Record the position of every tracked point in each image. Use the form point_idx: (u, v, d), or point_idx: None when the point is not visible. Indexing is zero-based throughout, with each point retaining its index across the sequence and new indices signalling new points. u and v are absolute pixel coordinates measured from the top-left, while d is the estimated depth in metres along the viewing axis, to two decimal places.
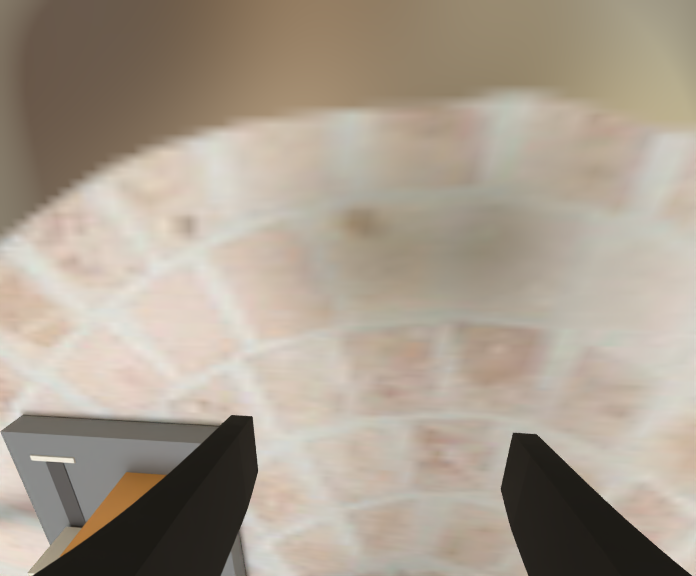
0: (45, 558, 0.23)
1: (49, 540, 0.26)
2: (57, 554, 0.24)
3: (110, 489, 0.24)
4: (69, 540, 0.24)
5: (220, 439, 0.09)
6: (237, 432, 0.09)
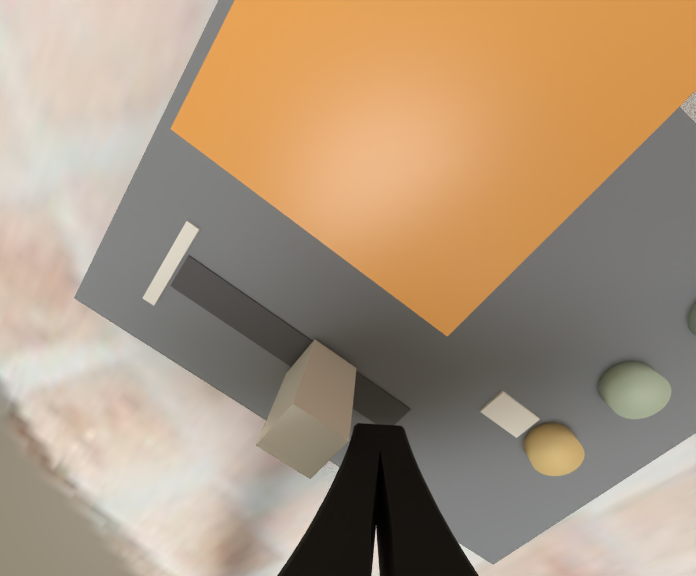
0: (275, 411, 0.09)
1: (335, 461, 0.13)
2: (289, 389, 0.09)
3: None
4: (298, 368, 0.10)
5: (365, 449, 0.08)
6: (377, 441, 0.09)
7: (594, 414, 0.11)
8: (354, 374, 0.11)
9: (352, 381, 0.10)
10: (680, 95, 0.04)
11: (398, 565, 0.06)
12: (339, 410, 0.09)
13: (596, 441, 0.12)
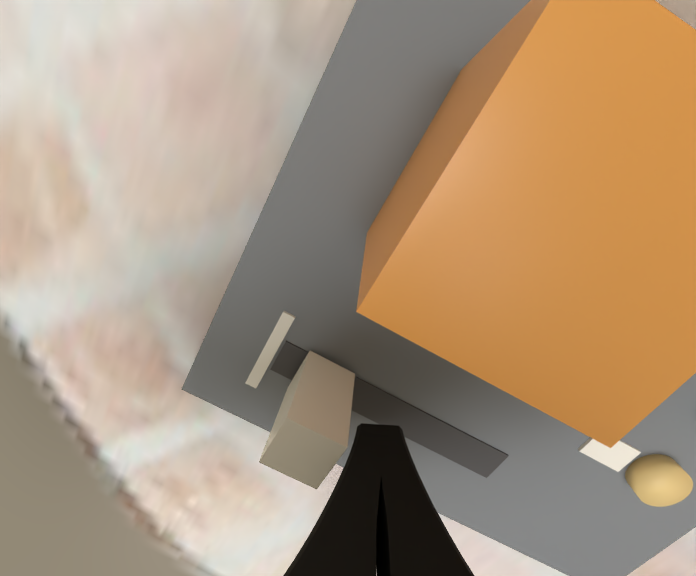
0: (275, 426, 0.09)
1: (436, 509, 0.13)
2: (286, 403, 0.10)
3: None
4: (295, 381, 0.10)
5: (369, 449, 0.08)
6: (381, 442, 0.09)
7: None
8: (352, 380, 0.11)
9: (350, 387, 0.10)
10: None
11: (394, 565, 0.06)
12: (336, 418, 0.09)
13: None
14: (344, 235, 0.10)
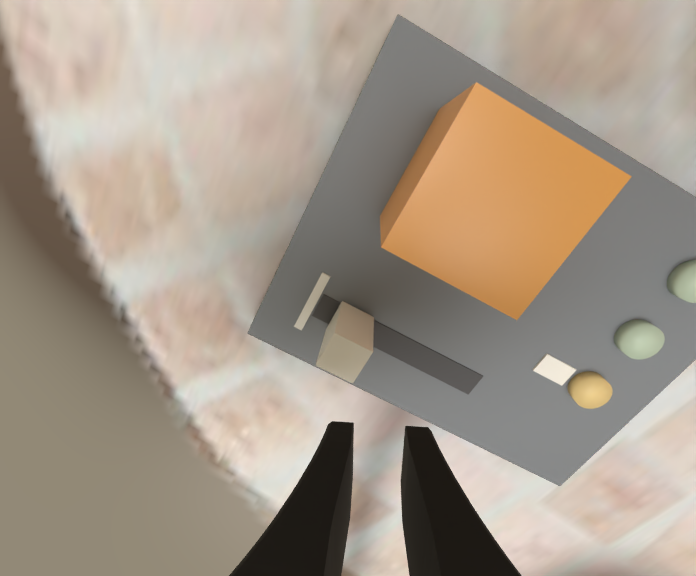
0: (323, 346, 0.14)
1: (433, 422, 0.18)
2: (330, 330, 0.14)
3: (396, 264, 0.15)
4: (334, 320, 0.15)
5: (335, 447, 0.08)
6: (348, 439, 0.09)
7: (615, 360, 0.16)
8: (372, 320, 0.16)
9: (371, 323, 0.15)
10: (605, 204, 0.09)
11: (443, 569, 0.06)
12: (364, 337, 0.14)
13: (620, 380, 0.16)
14: (364, 218, 0.15)
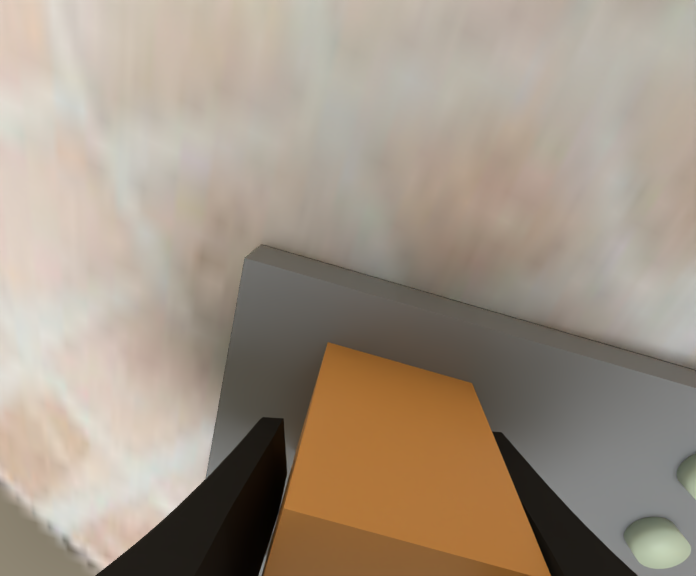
0: None
1: None
2: None
3: None
4: None
5: (256, 441, 0.09)
6: (271, 434, 0.09)
7: (633, 559, 0.12)
8: None
9: None
10: None
11: None
12: None
13: None
14: None
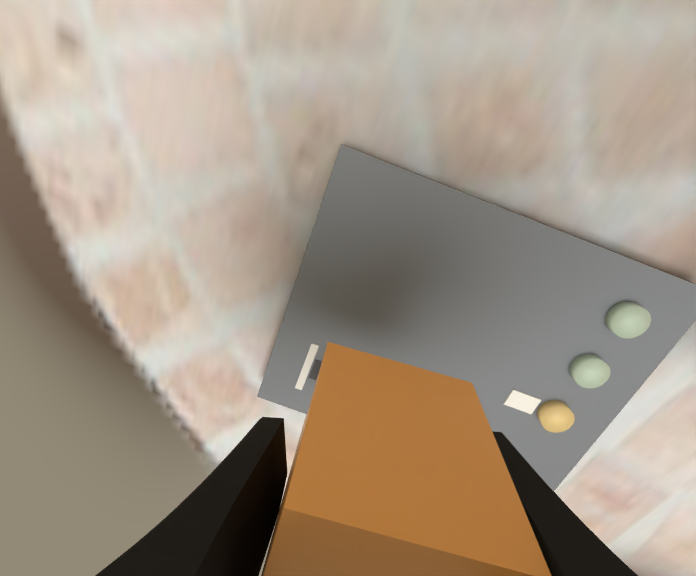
0: None
1: None
2: None
3: (372, 330, 0.18)
4: None
5: (255, 441, 0.09)
6: (271, 434, 0.09)
7: (573, 389, 0.18)
8: None
9: None
10: None
11: None
12: None
13: (582, 404, 0.19)
14: (339, 297, 0.17)
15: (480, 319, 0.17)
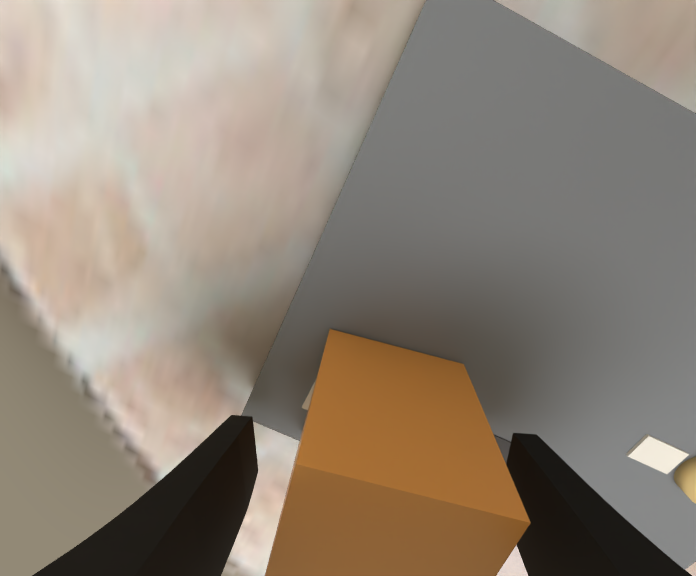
0: None
1: None
2: None
3: (439, 325, 0.11)
4: None
5: (220, 439, 0.09)
6: (237, 432, 0.09)
7: None
8: None
9: None
10: (507, 552, 0.07)
11: None
12: None
13: None
14: (394, 266, 0.10)
15: (622, 321, 0.10)
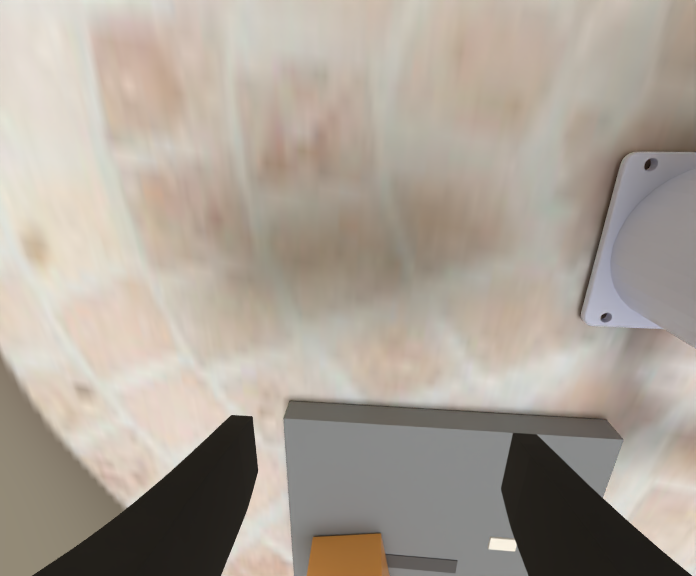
0: None
1: None
2: None
3: (360, 521, 0.22)
4: None
5: (220, 439, 0.09)
6: (237, 432, 0.09)
7: None
8: None
9: None
10: None
11: None
12: None
13: None
14: (326, 506, 0.22)
15: (439, 497, 0.21)
